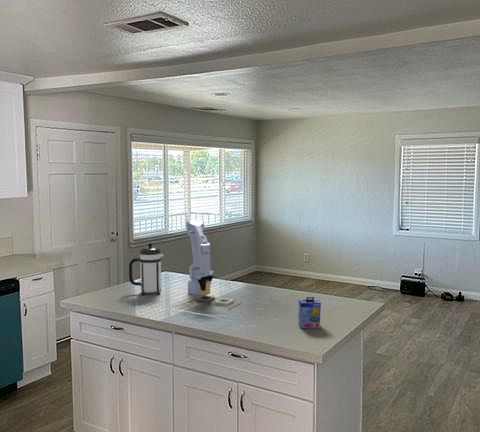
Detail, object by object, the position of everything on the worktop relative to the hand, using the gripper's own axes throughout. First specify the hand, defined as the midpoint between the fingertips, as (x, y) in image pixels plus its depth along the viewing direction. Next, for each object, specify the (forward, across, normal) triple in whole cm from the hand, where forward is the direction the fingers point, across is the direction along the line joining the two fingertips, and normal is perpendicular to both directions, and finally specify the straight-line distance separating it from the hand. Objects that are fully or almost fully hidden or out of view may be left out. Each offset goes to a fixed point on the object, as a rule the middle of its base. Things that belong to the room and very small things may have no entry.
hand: (205, 289), depth 266 cm
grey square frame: (+7, 0, 0) cm, 7 cm away
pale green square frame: (+7, 0, -12) cm, 14 cm away
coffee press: (+8, 0, +40) cm, 41 cm away
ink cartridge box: (+7, -11, -65) cm, 66 cm away
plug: (+2, 0, 0) cm, 2 cm away
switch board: (+7, 0, -6) cm, 9 cm away
